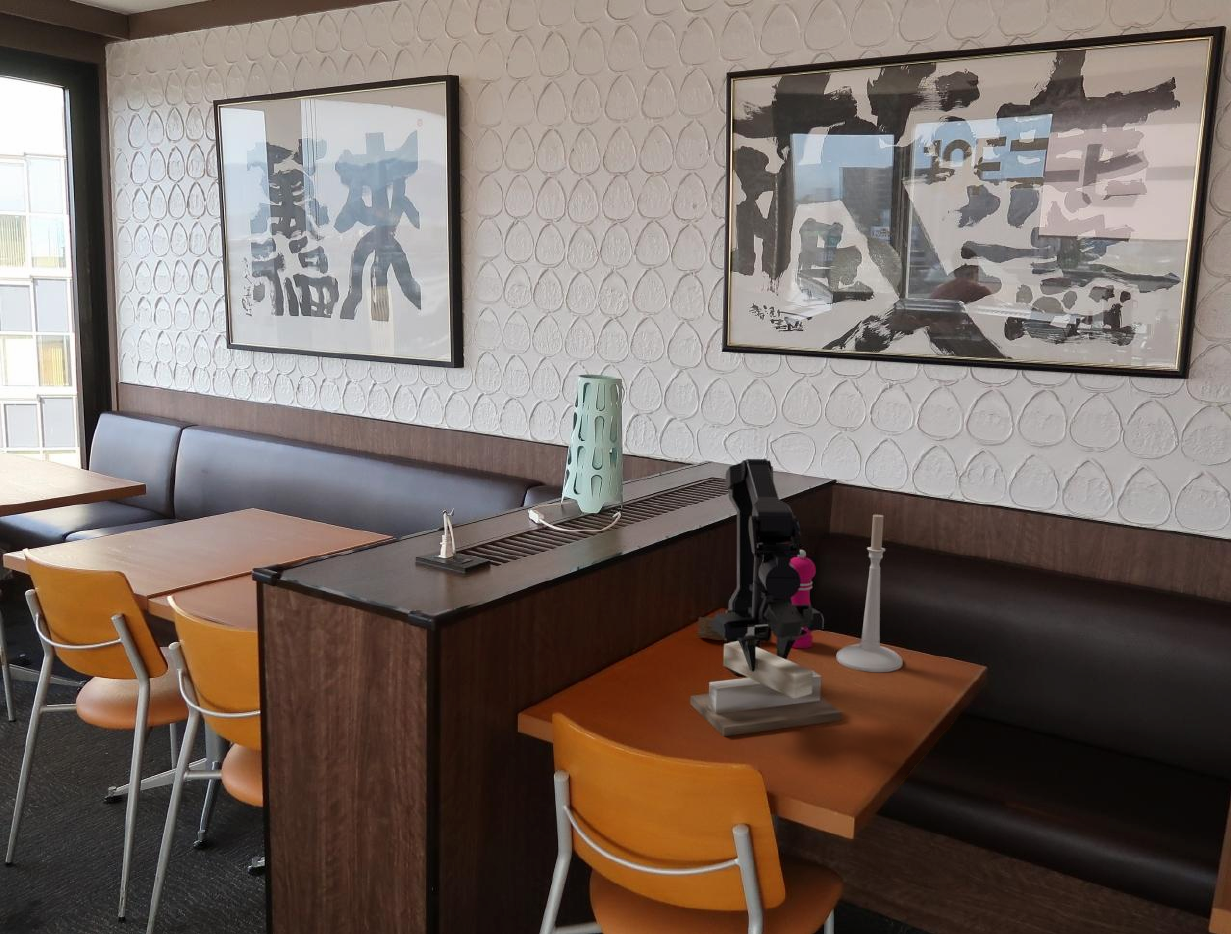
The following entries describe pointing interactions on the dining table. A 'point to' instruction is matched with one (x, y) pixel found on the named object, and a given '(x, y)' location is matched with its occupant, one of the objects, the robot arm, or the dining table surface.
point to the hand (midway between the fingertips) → (766, 669)
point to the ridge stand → (760, 707)
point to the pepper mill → (803, 592)
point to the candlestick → (871, 619)
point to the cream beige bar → (770, 670)
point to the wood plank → (710, 629)
